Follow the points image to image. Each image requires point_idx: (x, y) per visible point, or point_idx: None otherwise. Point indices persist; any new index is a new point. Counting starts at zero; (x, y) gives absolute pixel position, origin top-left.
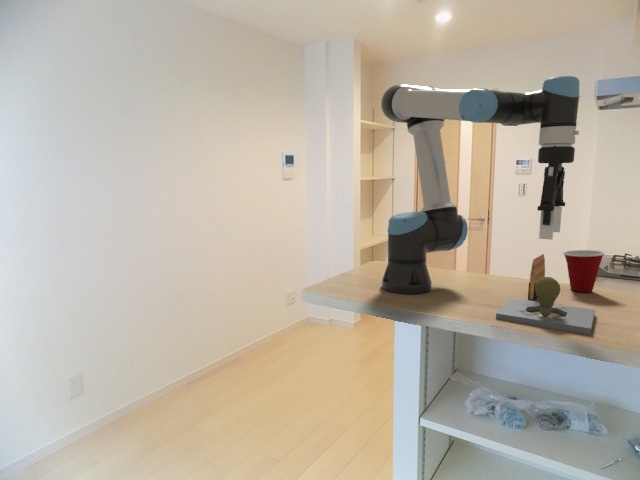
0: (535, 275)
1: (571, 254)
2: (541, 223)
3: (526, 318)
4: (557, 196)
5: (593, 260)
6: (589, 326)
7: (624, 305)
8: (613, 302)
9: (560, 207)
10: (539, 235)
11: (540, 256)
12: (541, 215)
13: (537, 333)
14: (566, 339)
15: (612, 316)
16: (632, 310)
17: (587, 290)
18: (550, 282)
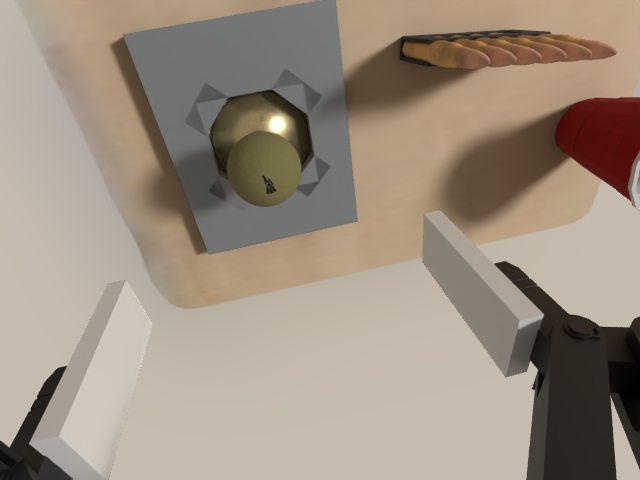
0: (444, 65)
1: None
2: (79, 358)
3: (160, 128)
4: (531, 455)
5: (624, 193)
6: (219, 249)
7: (467, 233)
8: (483, 212)
9: (503, 368)
10: (101, 297)
11: (584, 51)
12: (49, 408)
13: (120, 170)
14: (140, 226)
15: (369, 239)
16: None
17: (560, 147)
18: (244, 194)
